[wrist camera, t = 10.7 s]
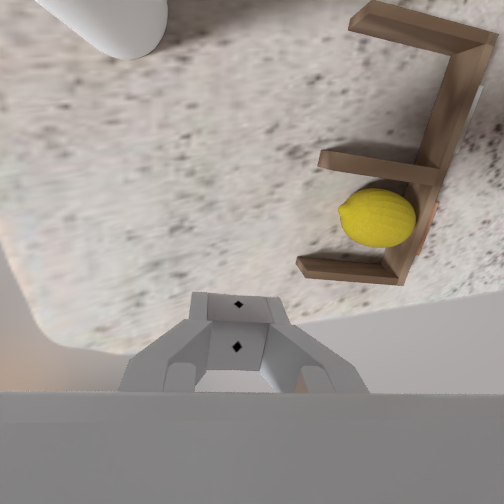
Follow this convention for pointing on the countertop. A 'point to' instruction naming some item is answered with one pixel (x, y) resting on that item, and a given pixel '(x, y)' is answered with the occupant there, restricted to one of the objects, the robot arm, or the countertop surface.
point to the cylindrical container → (114, 23)
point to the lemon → (377, 218)
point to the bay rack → (434, 141)
